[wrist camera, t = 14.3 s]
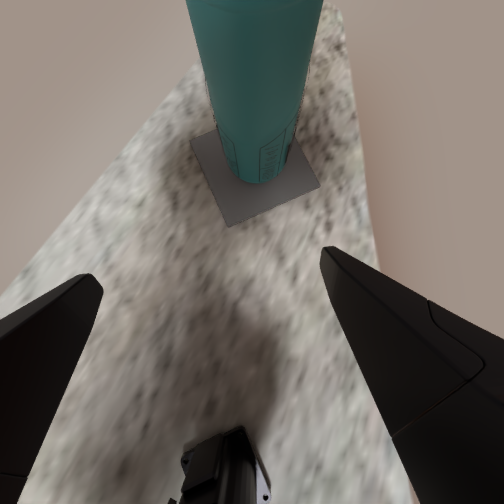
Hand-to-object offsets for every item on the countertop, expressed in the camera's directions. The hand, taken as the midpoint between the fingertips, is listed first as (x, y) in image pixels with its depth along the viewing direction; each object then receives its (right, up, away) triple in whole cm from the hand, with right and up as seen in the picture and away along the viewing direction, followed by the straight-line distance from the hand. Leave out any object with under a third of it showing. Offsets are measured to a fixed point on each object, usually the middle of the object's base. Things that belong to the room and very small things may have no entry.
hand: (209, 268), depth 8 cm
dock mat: (+2, +10, +15) cm, 18 cm away
